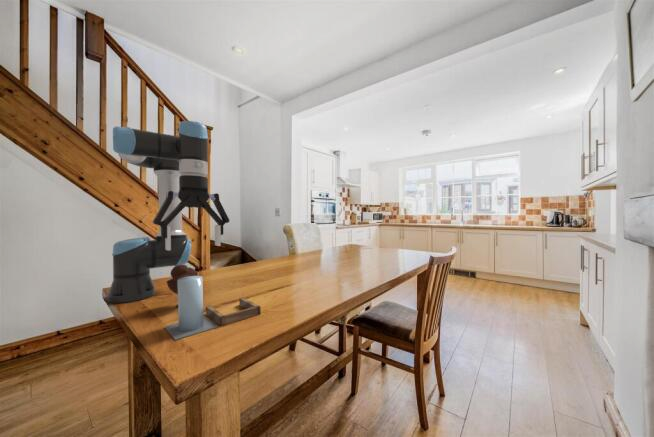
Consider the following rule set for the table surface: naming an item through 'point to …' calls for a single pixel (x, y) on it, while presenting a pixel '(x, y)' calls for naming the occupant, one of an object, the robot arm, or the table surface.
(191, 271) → the ice cream bowl
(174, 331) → the coaster
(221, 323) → the brown wooden u-shaped frame
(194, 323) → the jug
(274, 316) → the table surface
